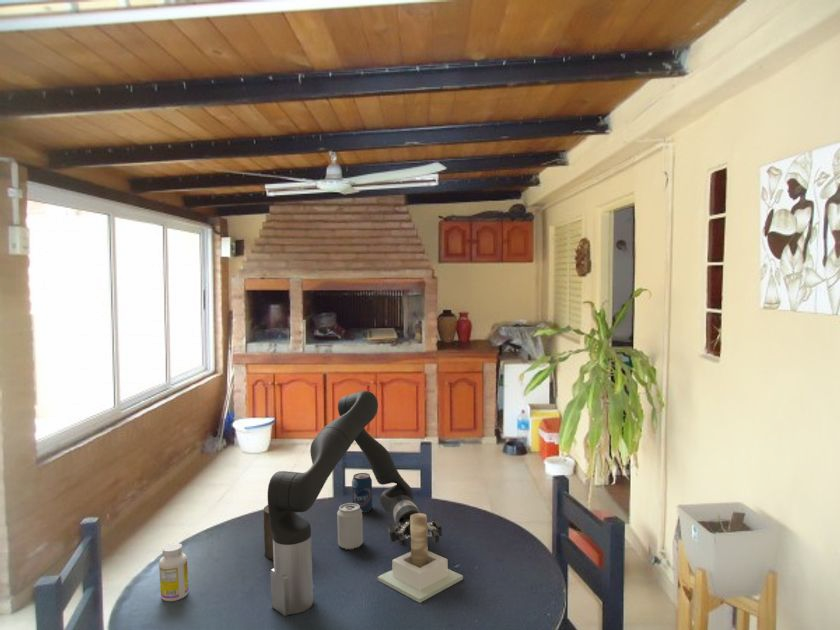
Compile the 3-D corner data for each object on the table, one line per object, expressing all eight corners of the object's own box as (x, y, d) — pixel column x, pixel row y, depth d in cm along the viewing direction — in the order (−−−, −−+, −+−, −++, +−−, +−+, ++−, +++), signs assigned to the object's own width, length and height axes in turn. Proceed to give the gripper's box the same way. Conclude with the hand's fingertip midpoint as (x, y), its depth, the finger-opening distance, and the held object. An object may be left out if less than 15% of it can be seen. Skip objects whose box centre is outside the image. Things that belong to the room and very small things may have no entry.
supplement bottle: (180, 586, 159) (178, 538, 158) (193, 594, 155) (191, 545, 154) (155, 596, 154) (153, 548, 153) (169, 605, 150) (166, 555, 149)
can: (365, 540, 185) (364, 501, 184) (360, 551, 177) (359, 511, 177) (341, 539, 186) (340, 501, 185) (335, 550, 178) (334, 510, 177)
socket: (419, 602, 149) (419, 581, 149) (377, 580, 160) (377, 560, 160) (462, 579, 160) (462, 559, 160) (420, 559, 171) (420, 540, 171)
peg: (419, 581, 157) (418, 520, 157) (408, 575, 160) (406, 516, 160) (431, 575, 160) (430, 515, 160) (420, 570, 163) (418, 512, 163)
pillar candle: (257, 557, 174) (256, 507, 173) (275, 543, 184) (274, 495, 183) (287, 562, 172) (286, 511, 170) (304, 547, 181) (303, 498, 180)
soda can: (354, 514, 205) (353, 479, 204) (351, 507, 212) (350, 473, 211) (374, 511, 207) (373, 477, 206) (370, 504, 213) (369, 471, 213)
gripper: (383, 507, 171) (394, 530, 156) (431, 502, 175) (447, 524, 159) (383, 533, 172) (394, 558, 156) (432, 527, 175) (447, 552, 159)
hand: (421, 541), depth 158 cm, fingers open, 8 cm apart
